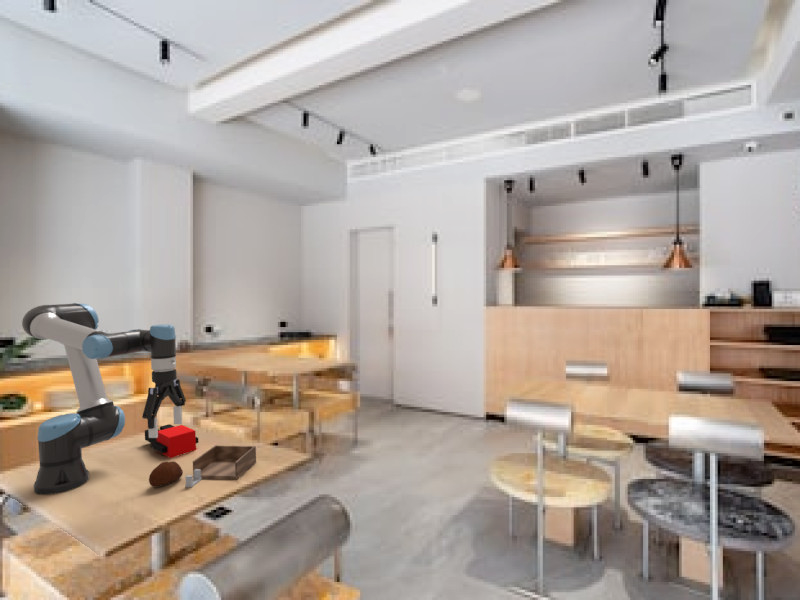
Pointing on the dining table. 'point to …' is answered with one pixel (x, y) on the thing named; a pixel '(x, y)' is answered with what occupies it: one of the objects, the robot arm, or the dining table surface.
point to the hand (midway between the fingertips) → (166, 430)
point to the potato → (165, 474)
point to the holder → (225, 462)
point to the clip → (190, 481)
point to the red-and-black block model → (173, 440)
